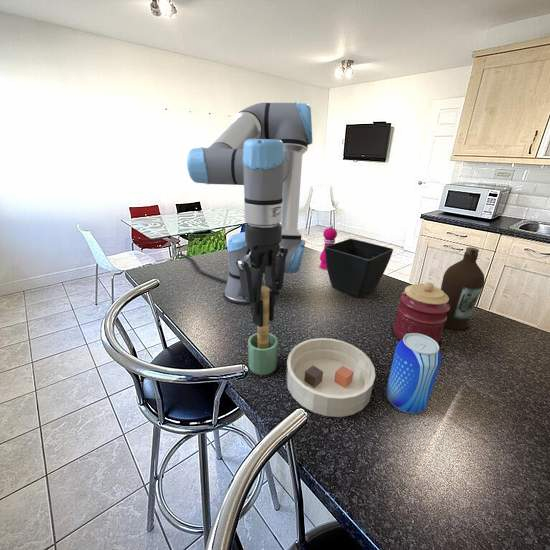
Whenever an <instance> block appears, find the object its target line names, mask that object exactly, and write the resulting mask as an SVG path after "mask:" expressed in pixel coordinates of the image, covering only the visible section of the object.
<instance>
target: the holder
mask: <svg viewBox="0 0 550 550" xmlns="http://www.w3.org/2000/svg"><path fill="white" fill-rule="evenodd" d="M278 349H279V339H278V338H277V336H276V335H274V334H273V333H271V332H269V348H266V349H259V348H257V332H255V333H253V334H252V335H250V336H249V337H248V339H247V362H248V364H247V365H248V368H249V370H250V372H252V373H253V374H257V375H262V376H265V375H269V374H272V373H273V372H275V371H276V369H277V367H278V353H279V352H278Z"/></svg>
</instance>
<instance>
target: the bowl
mask: <svg viewBox="0 0 550 550" xmlns="http://www.w3.org/2000/svg"><path fill="white" fill-rule="evenodd" d="M311 366H315V367H317V368H318V369H320V370H321V371H323V377H322V382H321V383H320V384H318V385H317V386H316V387H315V388H314V387H312V386H311V385H309V384H308V383H306V382H305V381H304V379H305V371H306V370H307V369H309V368H310V367H311ZM342 366H344V367H346V368H348V369H349V370H351V371H353V372H354V373H353V378H352V382H351V383H350V384H349V385H348V386H347V387H346V388H344V387H342V386H341V385H339V384H337V383H336V382H334V380H335V372H336V371H337V370H338V369H339V368H340V367H342ZM285 380H286V386H287V387H286V388H287V389H288V392H289V393H290V395H291V397H292V398H293V399H294V400H295V401H296V402H297V403H298V404H299V405H300V406H301V407H303V408H304V409H306V410H309V411H310V412H311V413H314V414H318V415H321V416H323V417H330V418H331V417H332V418H343V417H348V416H349V417H350V416H353V415H355V414H357V413H359V412H361V411H363V410H364V409H365V408H366V406H367V405H368V404H369V403H370V401H371V398H372V394H373V390H374V385H375V380H376V369H375V366H374V364H373V362H372V360H371V359H370V357H369V356H368V355H367V354H366V353H365V352H364V351H363V350H361V349H360V348H359V347H357V346H355V345H353V344H351V343H348V342H346V341H344V340H341V339H336V338H331V337H330V338H327V337H318V338H310V339H307V340H305V341H301V342H299V343H298V344H296V345H295V346H294V347H293V348H292V349H291V350H290V352H289V353H288V356H287V360H286V373H285Z"/></svg>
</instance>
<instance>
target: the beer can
mask: <svg viewBox="0 0 550 550" xmlns="http://www.w3.org/2000/svg"><path fill="white" fill-rule="evenodd" d="M442 359H443V358H442V354H441V352H440V345H439V342H438V343H437V342H436V341H435V340H433V339H432V338H430V337H428V336H426V335H423V334H418V333H409V334H406V335H405V336H404V338H403V339H402V340H399V341H398V342H397V344H396V346H395V350H394V353H393V359H392V363H391V366H390V367H391V368H390V371H389V376H388V379H387V384H386V387H385V388H386V389H385V396H386V398H387V400H388V401H389V402H390V404H391V405H392V406H393V407H395V408H396V409H398V410H399V411H400V412H401V411H402V412H403V413H407V414H420V413H422V412H424V411H425V410H426V409H427V408H428V404H429V400H430V397H431V394H432V392H433V389H434V385H435V381H436V378H437V376H438V373H439V369H440V366H441V363H442V361H443V360H442Z"/></svg>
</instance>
